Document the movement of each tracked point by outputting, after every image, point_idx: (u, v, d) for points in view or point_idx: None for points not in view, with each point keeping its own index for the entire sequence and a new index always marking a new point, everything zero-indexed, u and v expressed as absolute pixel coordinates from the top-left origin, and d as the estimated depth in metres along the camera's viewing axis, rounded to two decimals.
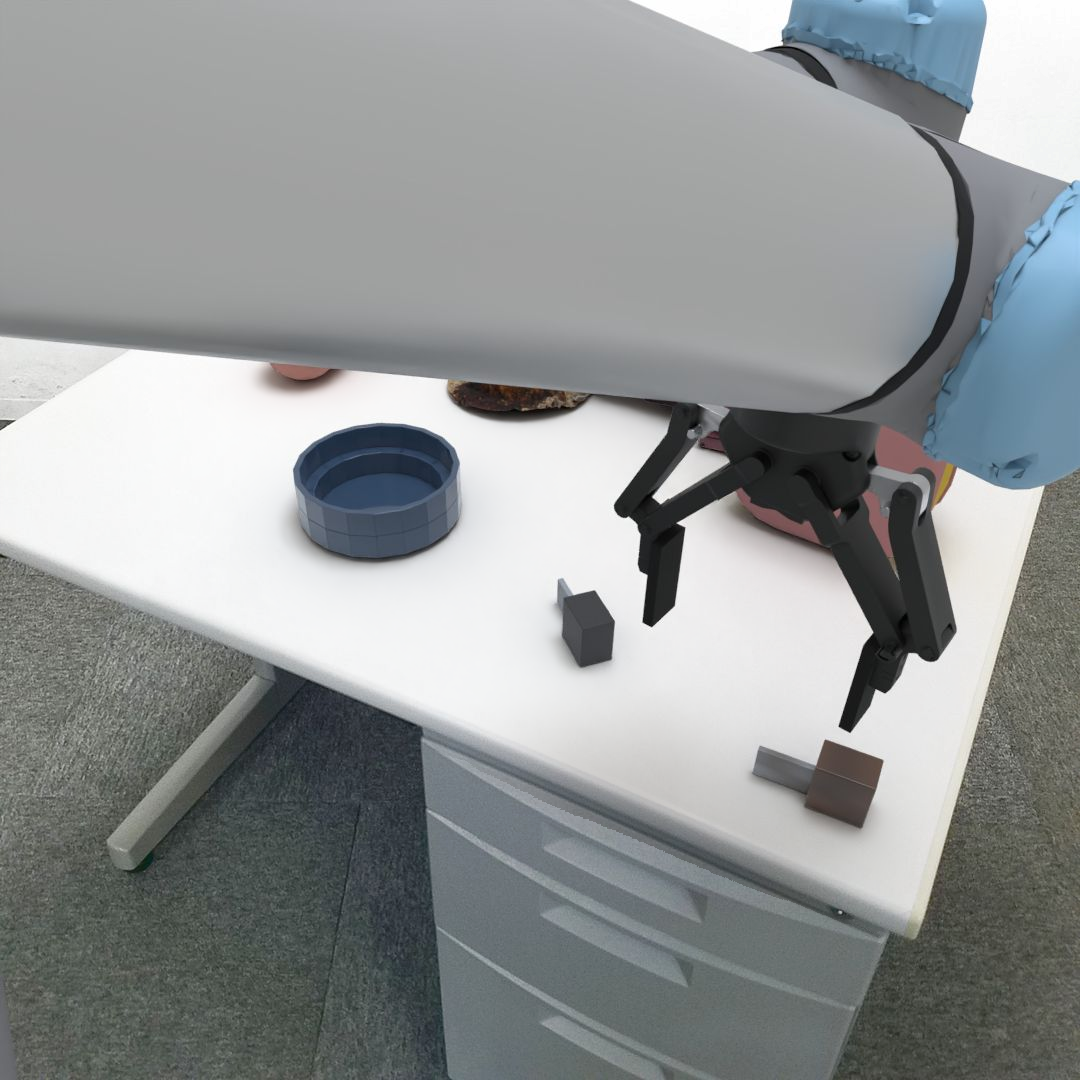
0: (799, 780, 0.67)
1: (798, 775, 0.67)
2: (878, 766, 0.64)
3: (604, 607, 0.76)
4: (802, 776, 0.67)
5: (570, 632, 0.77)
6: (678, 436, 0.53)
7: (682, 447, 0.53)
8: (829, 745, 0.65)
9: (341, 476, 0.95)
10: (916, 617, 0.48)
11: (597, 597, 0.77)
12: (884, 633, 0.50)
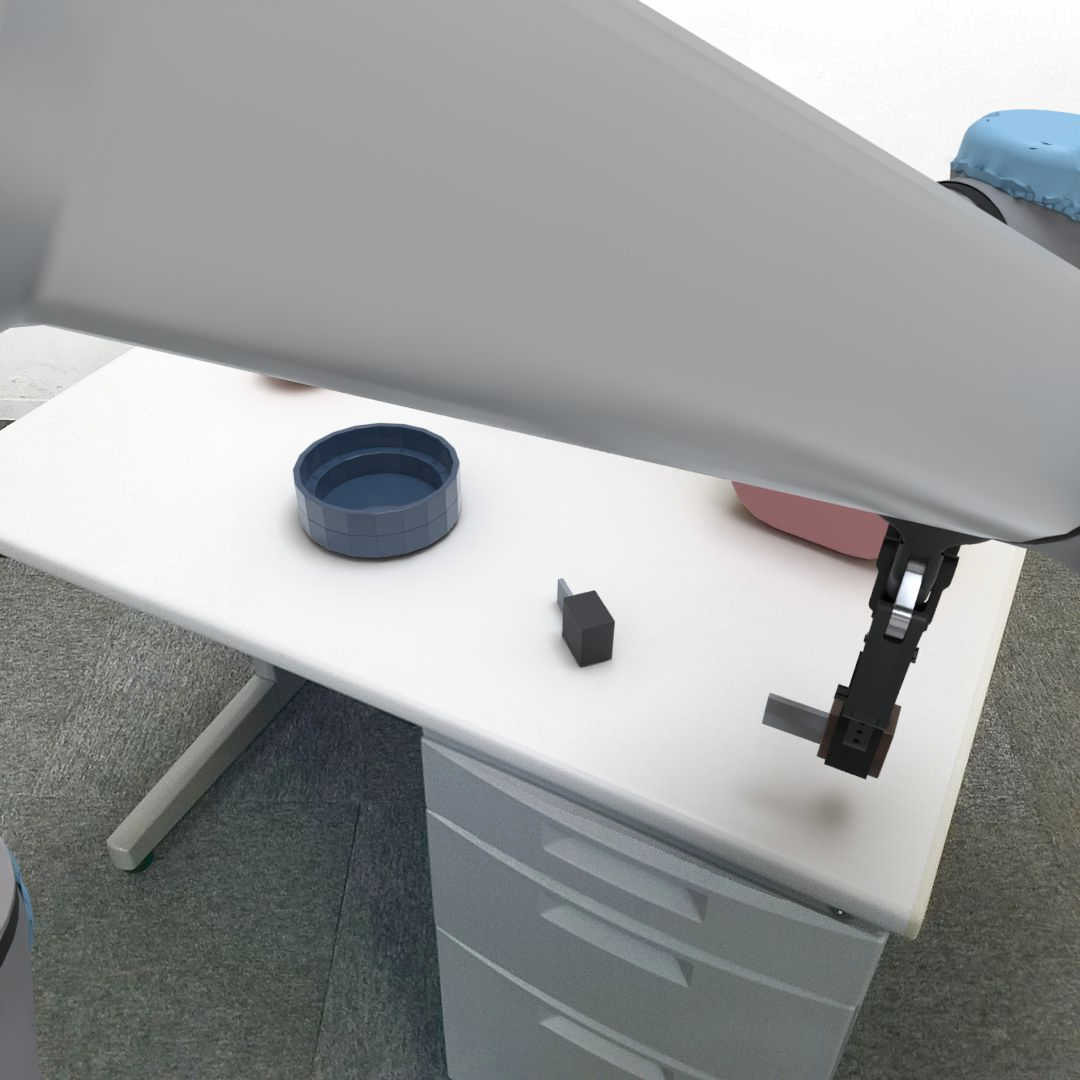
0: (811, 729, 0.63)
1: (810, 724, 0.63)
2: (896, 712, 0.61)
3: (604, 607, 0.76)
4: (814, 725, 0.63)
5: (570, 632, 0.77)
6: None
7: None
8: None
9: (341, 476, 0.95)
10: None
11: (597, 597, 0.77)
12: None
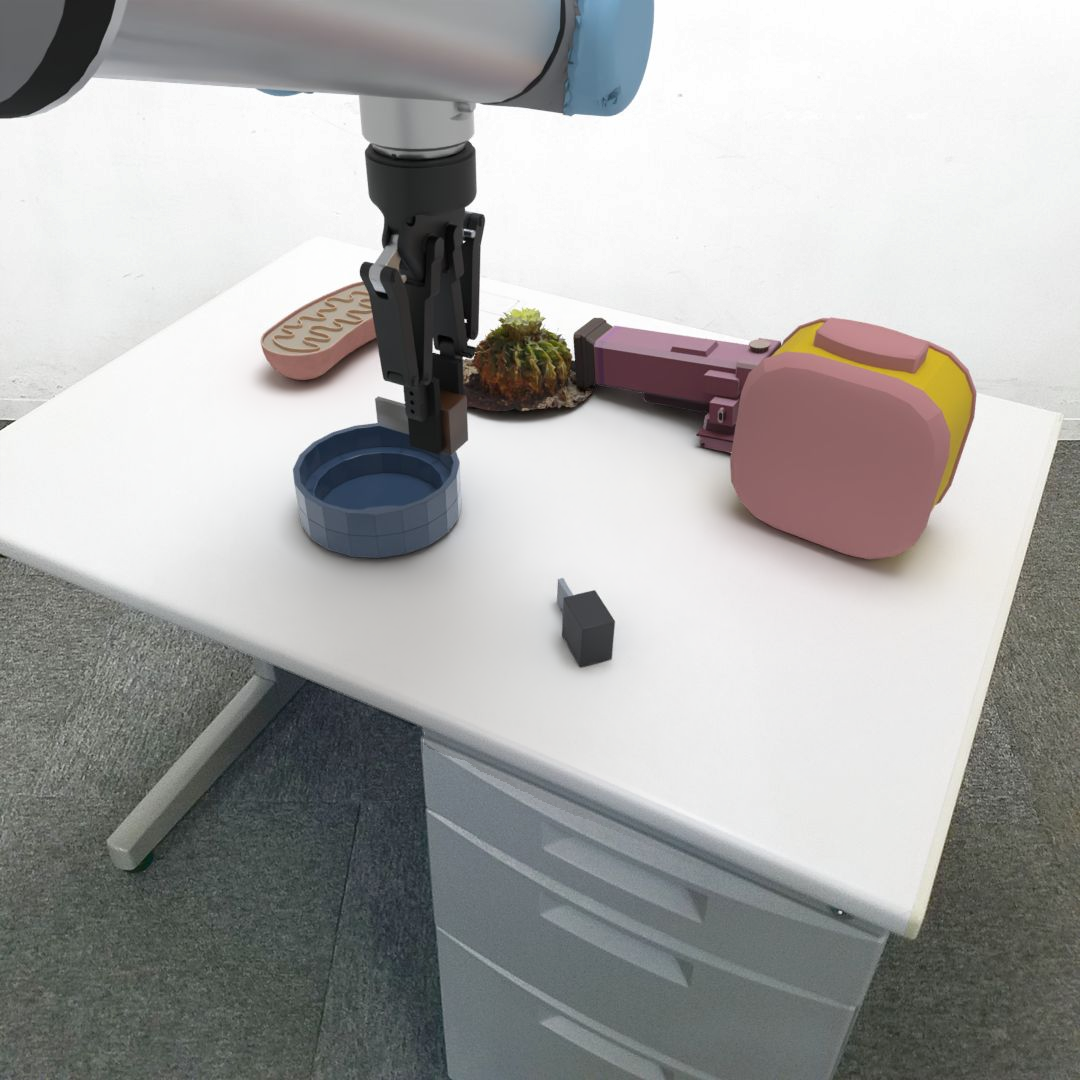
0: None
1: (406, 418, 0.80)
2: (459, 399, 0.77)
3: (604, 607, 0.76)
4: None
5: (570, 632, 0.77)
6: None
7: None
8: None
9: (341, 476, 0.95)
10: None
11: (597, 597, 0.77)
12: None
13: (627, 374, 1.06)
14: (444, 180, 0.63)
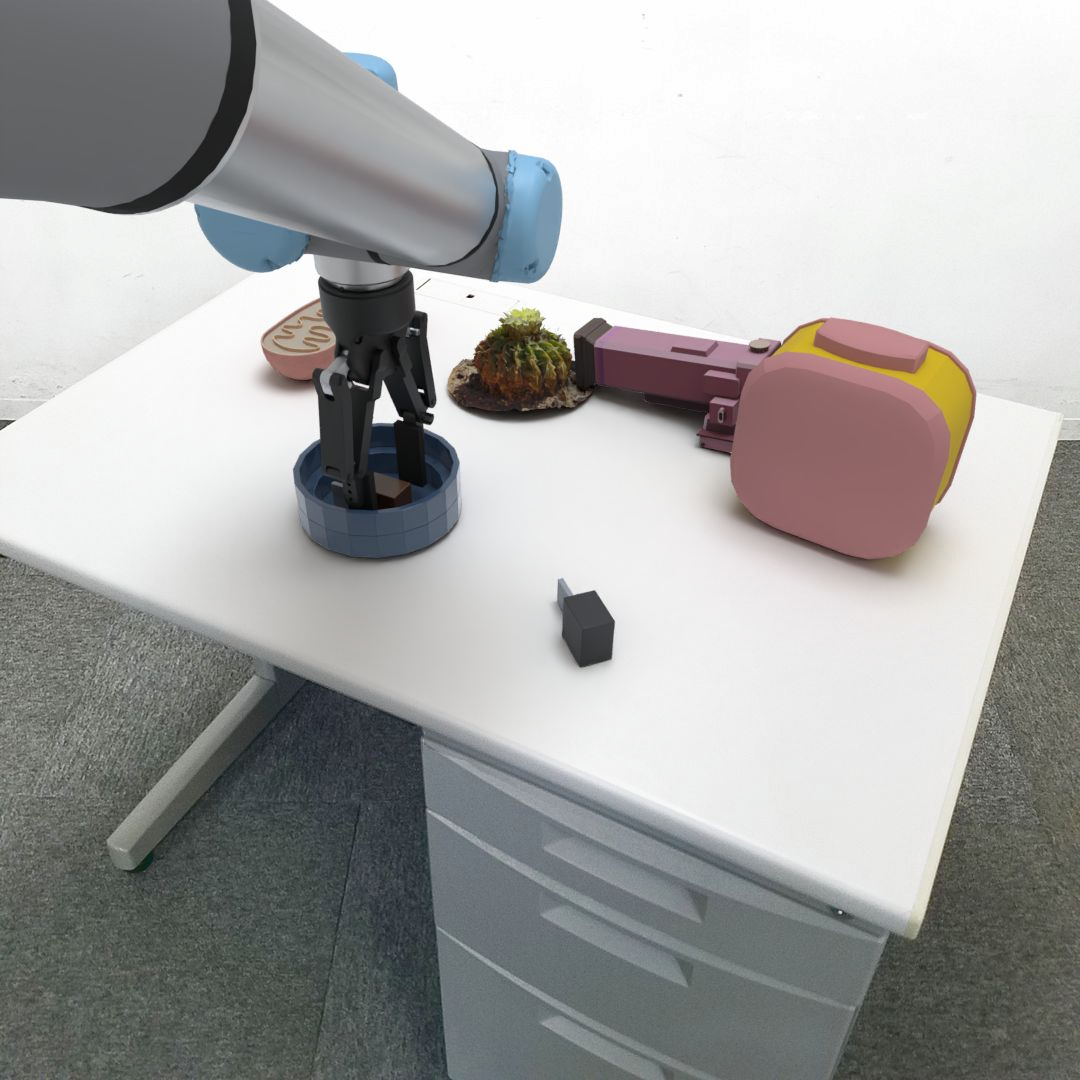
0: None
1: None
2: (404, 486, 0.88)
3: (604, 607, 0.76)
4: None
5: (570, 632, 0.77)
6: None
7: None
8: (375, 475, 0.89)
9: None
10: None
11: (597, 597, 0.77)
12: None
13: (627, 374, 1.06)
14: (385, 308, 0.74)
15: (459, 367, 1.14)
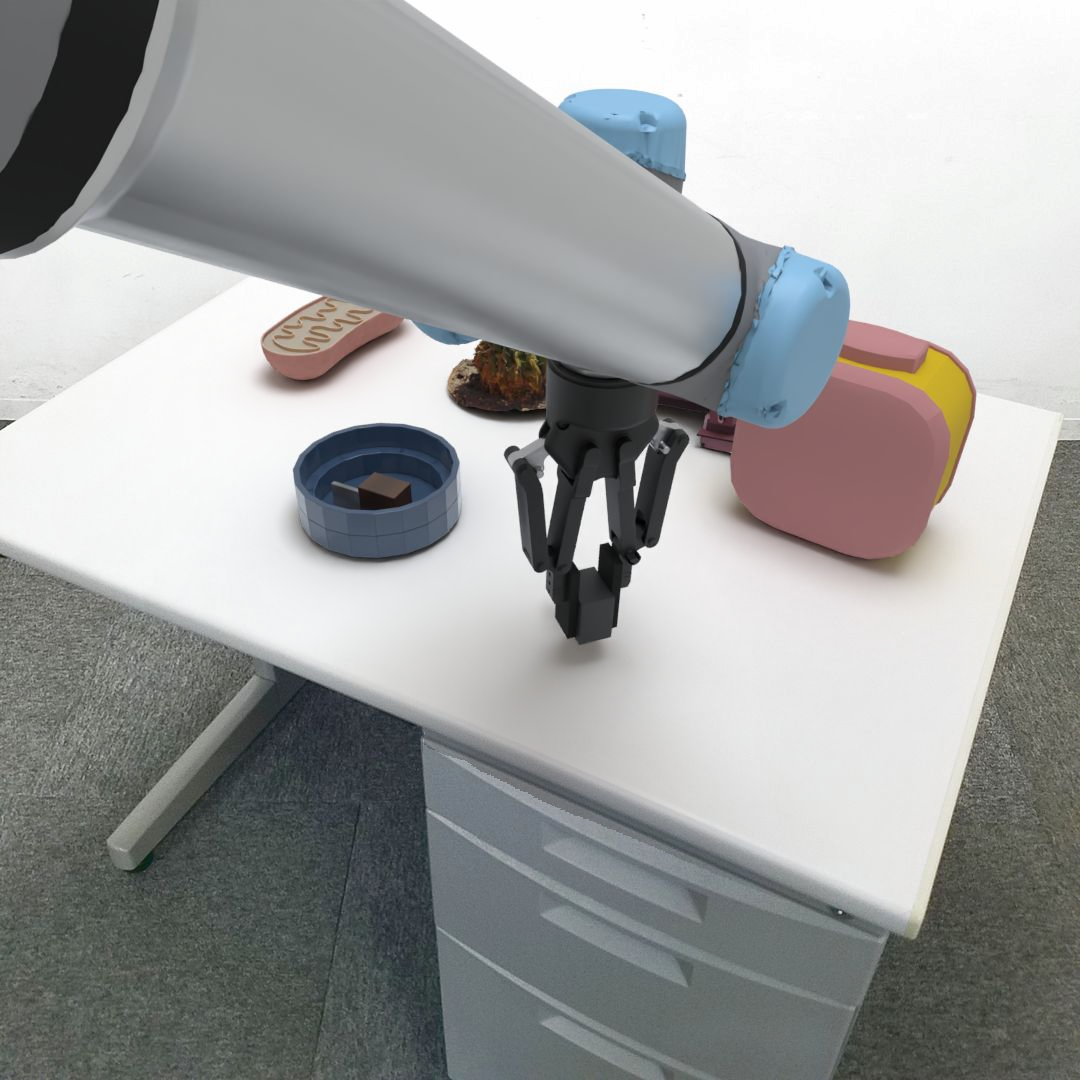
0: None
1: (358, 500, 0.91)
2: (404, 486, 0.88)
3: (604, 583, 0.74)
4: None
5: None
6: None
7: (648, 448, 0.70)
8: (375, 475, 0.89)
9: (341, 476, 0.95)
10: None
11: (597, 573, 0.75)
12: None
13: None
14: (593, 401, 0.60)
15: (459, 367, 1.14)
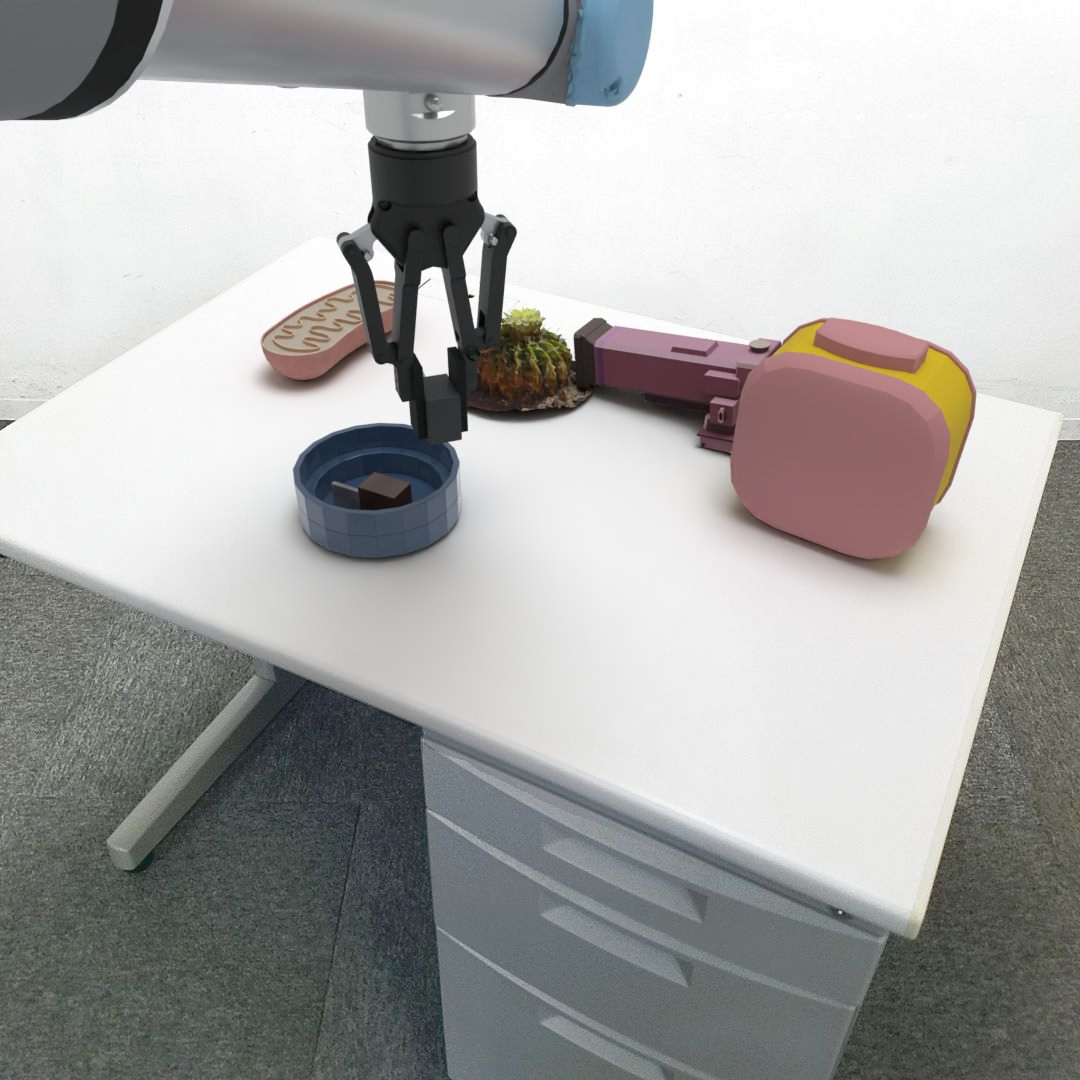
0: None
1: (358, 500, 0.91)
2: (404, 486, 0.88)
3: (452, 385, 0.78)
4: None
5: None
6: None
7: (483, 246, 0.74)
8: (375, 475, 0.89)
9: (341, 476, 0.95)
10: None
11: (447, 378, 0.79)
12: None
13: (627, 374, 1.06)
14: (404, 173, 0.64)
15: None
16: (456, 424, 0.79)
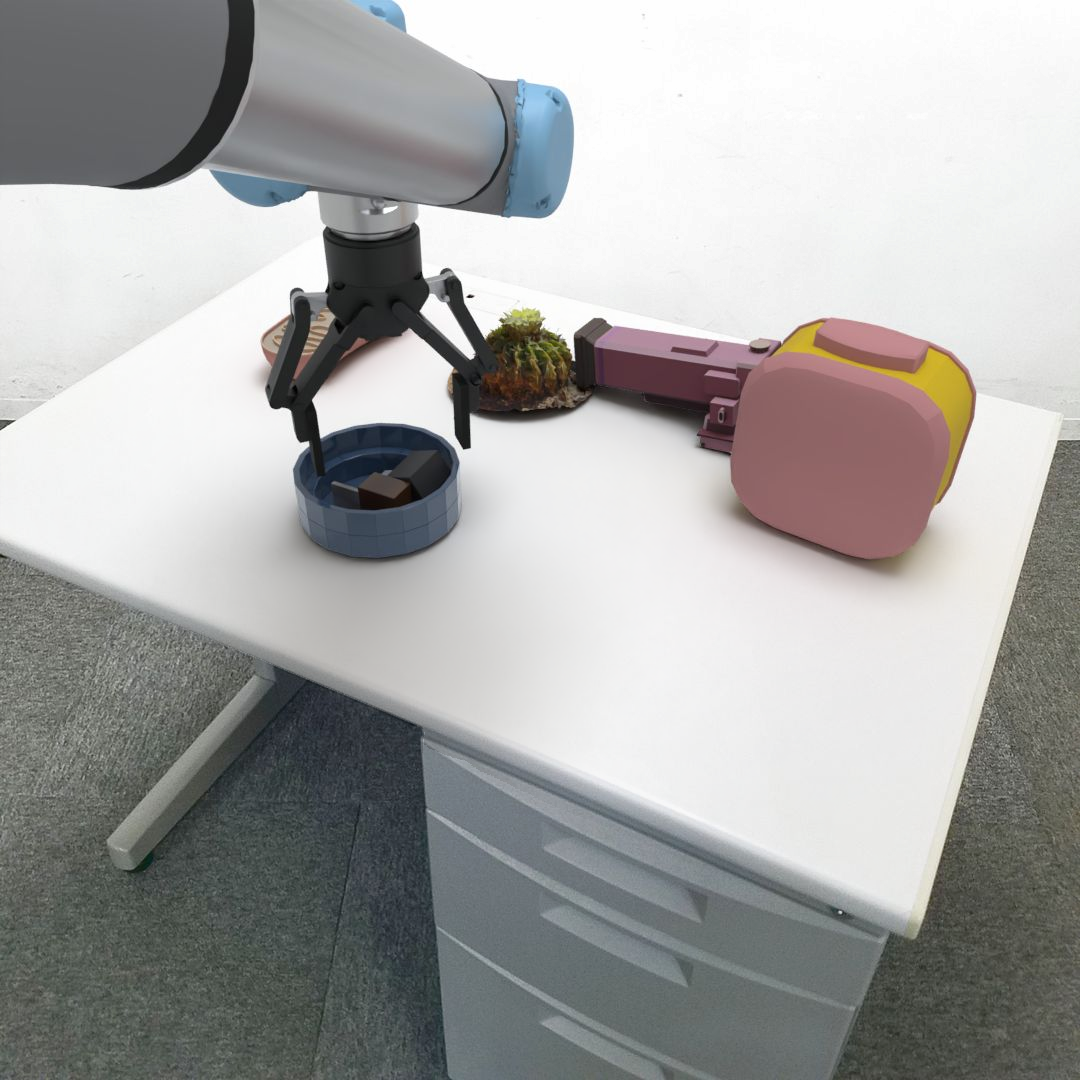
0: None
1: (358, 500, 0.91)
2: (404, 486, 0.88)
3: None
4: None
5: (407, 465, 0.91)
6: None
7: None
8: (375, 475, 0.89)
9: (341, 476, 0.95)
10: None
11: None
12: None
13: (627, 374, 1.06)
14: (354, 260, 0.73)
15: None
16: (432, 486, 0.90)
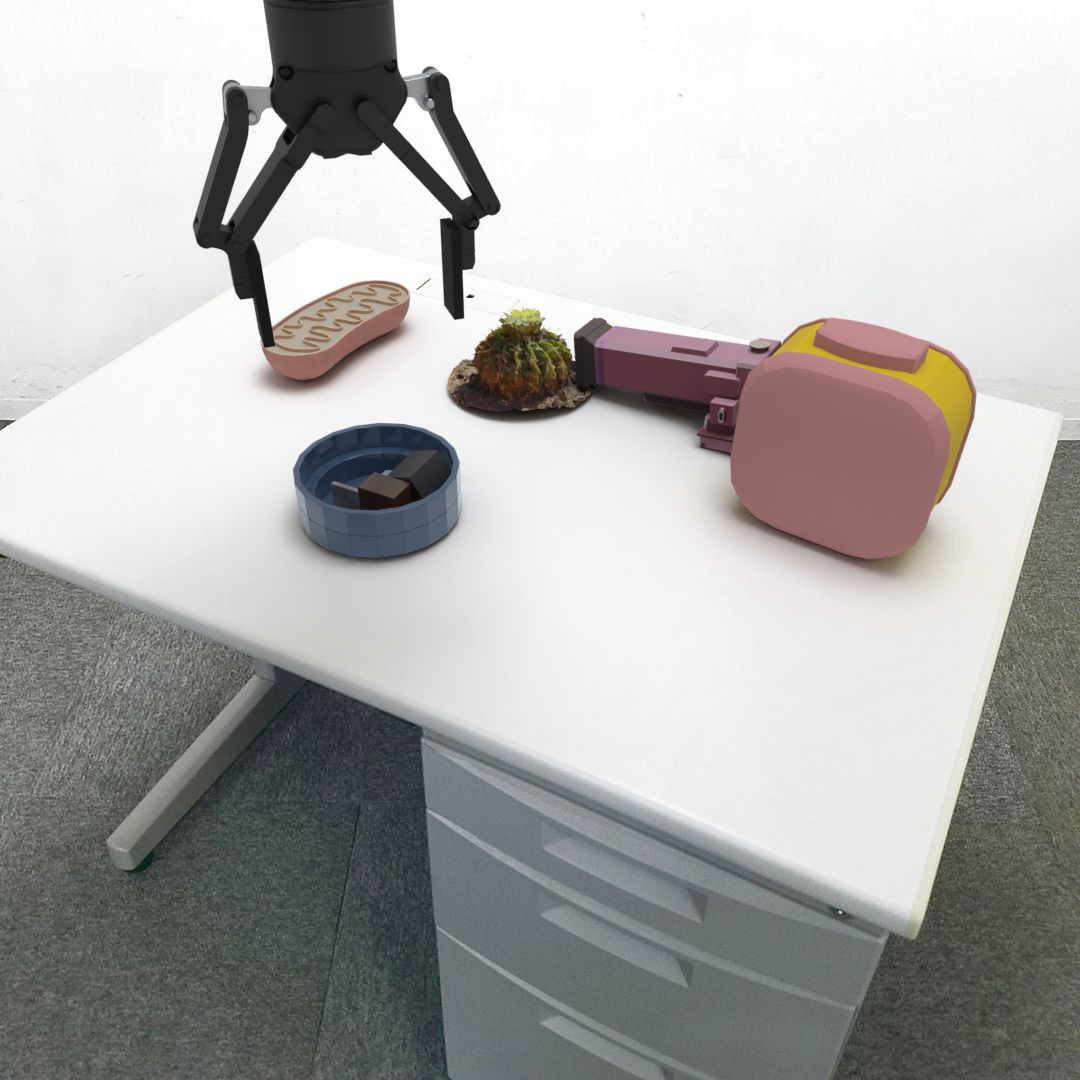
0: None
1: (358, 501, 0.91)
2: (403, 486, 0.88)
3: None
4: None
5: (407, 465, 0.91)
6: None
7: None
8: (375, 475, 0.89)
9: (341, 476, 0.95)
10: None
11: None
12: None
13: (627, 374, 1.06)
14: (304, 28, 0.54)
15: (459, 367, 1.14)
16: (432, 486, 0.90)
